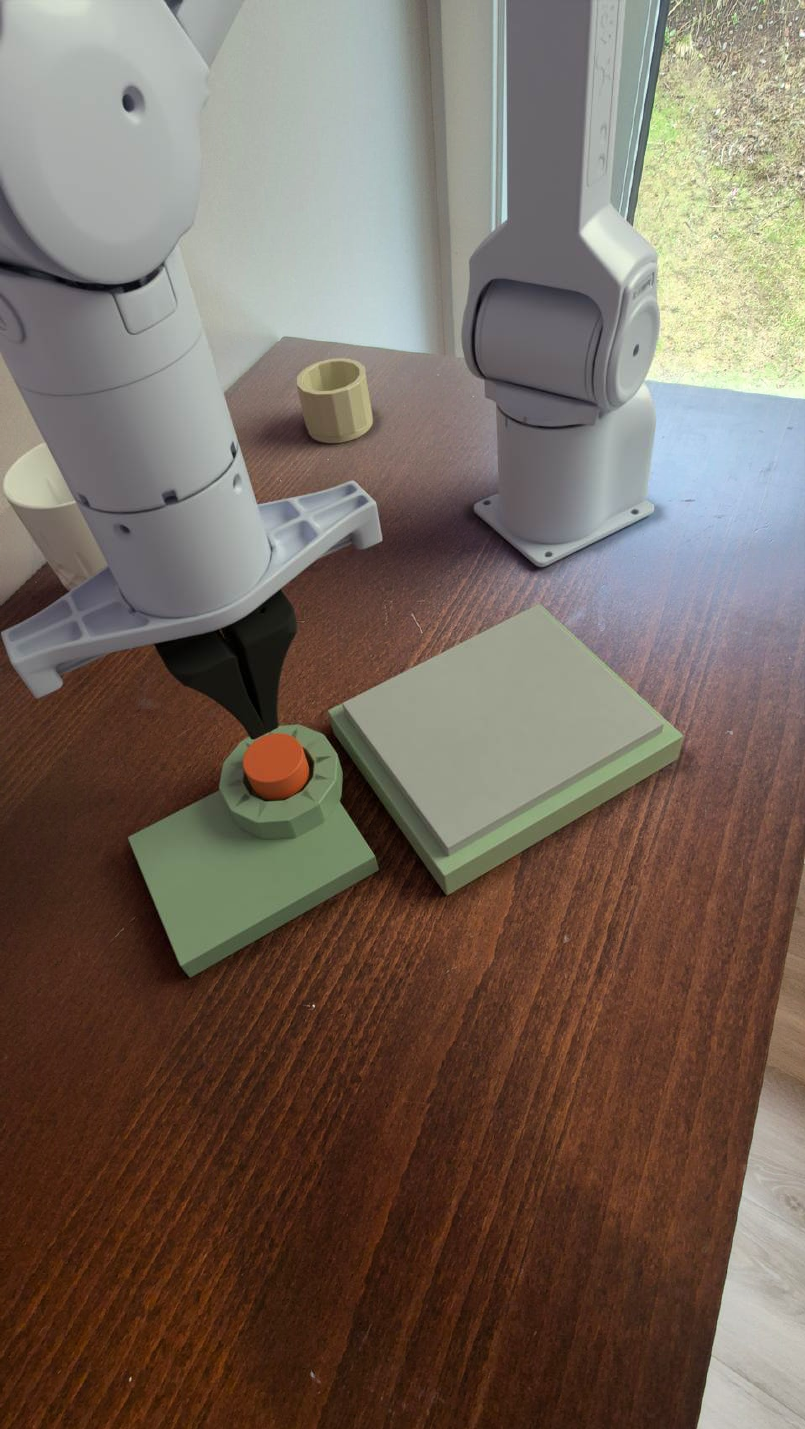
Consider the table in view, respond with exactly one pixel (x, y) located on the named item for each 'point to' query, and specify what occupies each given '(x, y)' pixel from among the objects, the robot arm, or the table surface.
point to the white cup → (52, 516)
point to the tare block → (251, 856)
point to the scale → (500, 743)
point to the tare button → (276, 766)
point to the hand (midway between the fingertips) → (257, 720)
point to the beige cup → (335, 400)
